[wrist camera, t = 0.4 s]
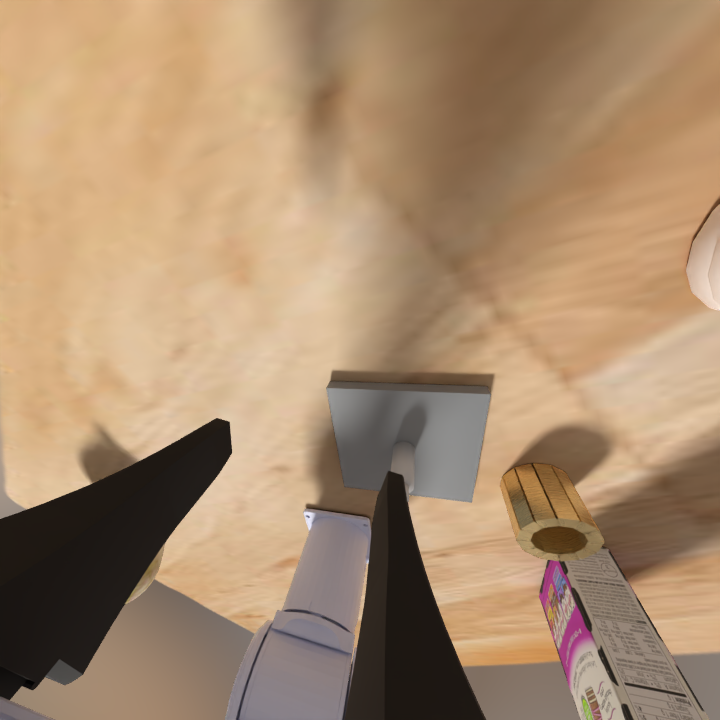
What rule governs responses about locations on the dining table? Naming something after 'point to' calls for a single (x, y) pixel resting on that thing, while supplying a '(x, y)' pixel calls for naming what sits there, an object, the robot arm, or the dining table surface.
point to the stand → (410, 435)
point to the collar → (549, 514)
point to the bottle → (706, 262)
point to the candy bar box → (611, 645)
